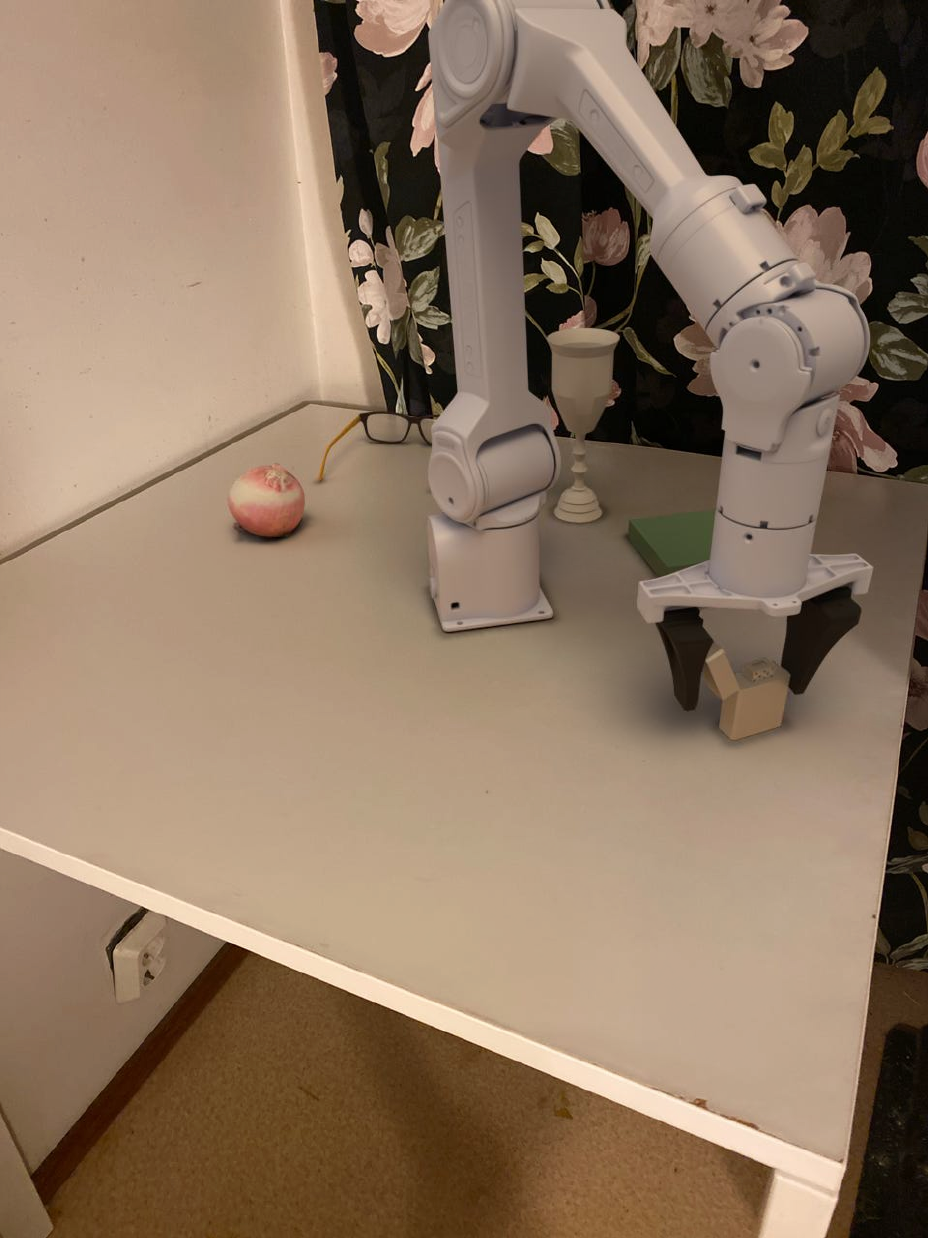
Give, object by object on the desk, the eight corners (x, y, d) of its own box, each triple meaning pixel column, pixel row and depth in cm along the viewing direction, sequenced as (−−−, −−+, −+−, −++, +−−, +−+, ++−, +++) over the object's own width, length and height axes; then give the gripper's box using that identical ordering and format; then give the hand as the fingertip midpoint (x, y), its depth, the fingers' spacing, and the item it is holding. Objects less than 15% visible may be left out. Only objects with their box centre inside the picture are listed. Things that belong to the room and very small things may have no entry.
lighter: (766, 711, 62) (783, 615, 57) (782, 725, 60) (801, 628, 56) (680, 737, 60) (691, 640, 55) (695, 752, 58) (707, 654, 54)
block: (665, 586, 77) (667, 566, 76) (627, 537, 85) (628, 519, 84) (770, 572, 78) (773, 553, 77) (723, 526, 87) (725, 507, 86)
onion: (282, 553, 86) (270, 486, 82) (217, 542, 88) (203, 477, 85) (322, 519, 92) (312, 455, 88) (260, 511, 95) (248, 448, 91)
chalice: (614, 526, 88) (624, 346, 78) (547, 528, 88) (549, 349, 78) (606, 496, 94) (614, 326, 84) (543, 498, 94) (544, 329, 85)
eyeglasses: (470, 446, 109) (469, 415, 107) (434, 491, 97) (432, 458, 95) (365, 439, 112) (362, 409, 110) (318, 482, 101) (313, 449, 99)
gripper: (675, 554, 47) (656, 748, 54) (921, 522, 48) (871, 714, 56) (630, 502, 53) (619, 683, 60) (851, 475, 54) (815, 654, 62)
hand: (738, 694), depth 58 cm, fingers closed on lighter, 7 cm apart
